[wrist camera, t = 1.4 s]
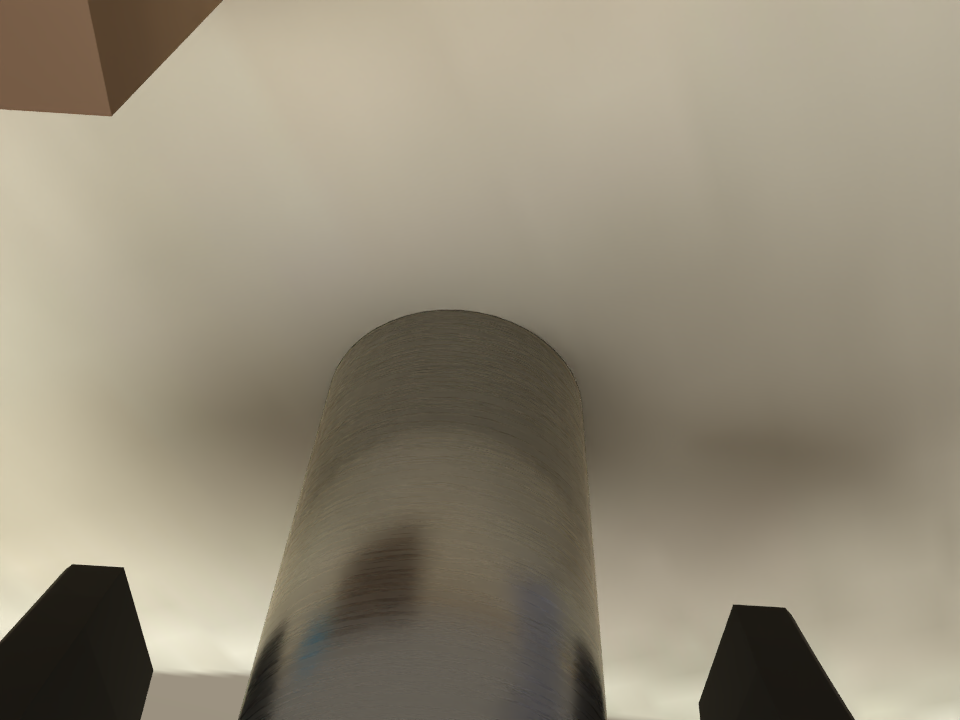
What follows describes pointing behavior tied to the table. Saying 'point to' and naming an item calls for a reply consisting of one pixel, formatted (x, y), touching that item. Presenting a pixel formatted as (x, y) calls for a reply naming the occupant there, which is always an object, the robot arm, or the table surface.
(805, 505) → the table surface
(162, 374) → the table surface
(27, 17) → the socket
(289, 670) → the peg
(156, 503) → the table surface
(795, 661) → the robot arm
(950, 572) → the table surface
